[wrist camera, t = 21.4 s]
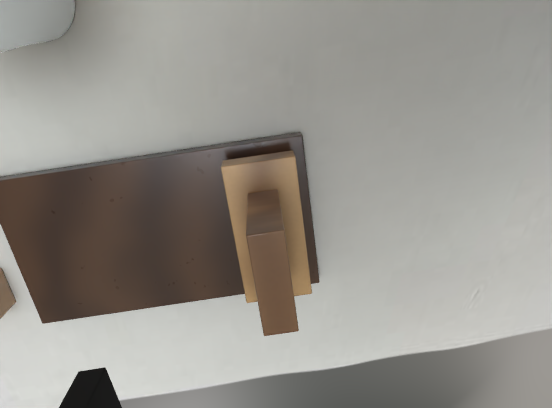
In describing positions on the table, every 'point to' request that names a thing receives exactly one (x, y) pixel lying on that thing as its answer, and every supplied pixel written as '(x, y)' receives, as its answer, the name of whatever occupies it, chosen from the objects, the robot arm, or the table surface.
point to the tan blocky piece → (5, 295)
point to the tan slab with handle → (269, 235)
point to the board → (134, 229)
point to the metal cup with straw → (33, 21)
